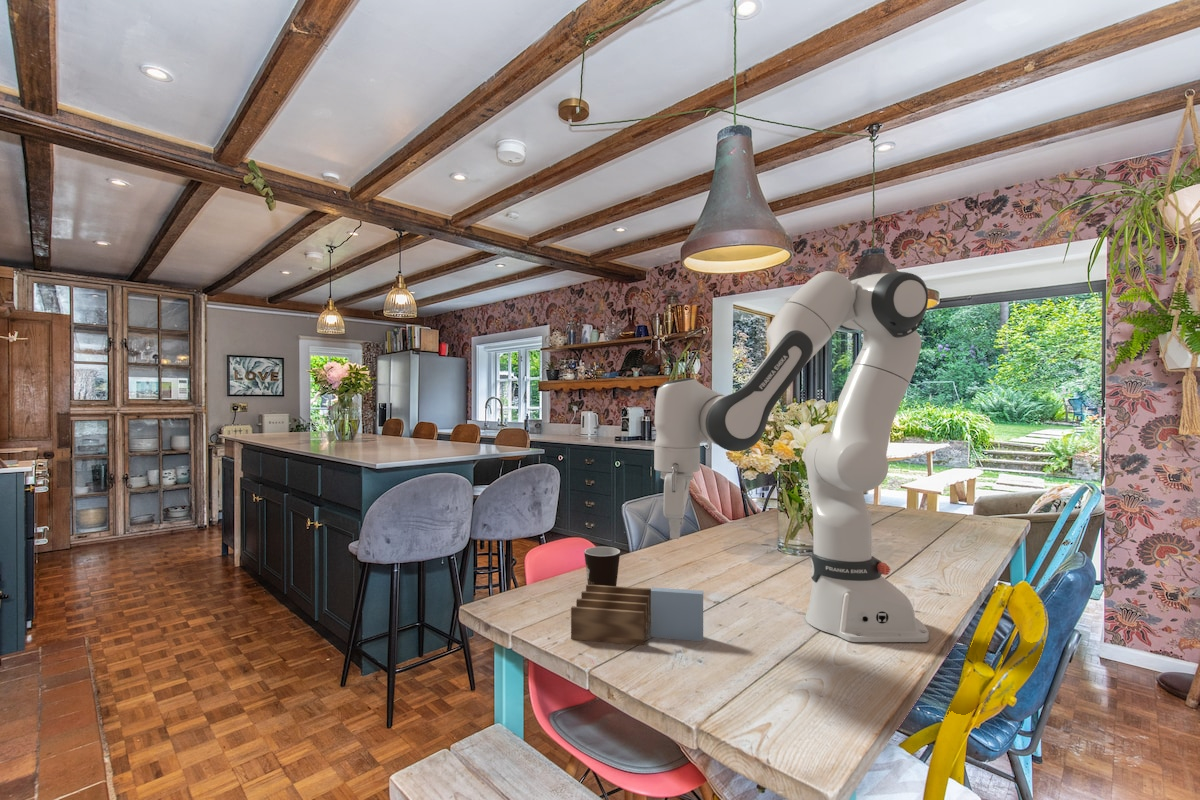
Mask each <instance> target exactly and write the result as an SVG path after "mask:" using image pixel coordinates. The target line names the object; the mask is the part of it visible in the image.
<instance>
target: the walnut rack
mask: <svg viewBox="0 0 1200 800" xmlns="http://www.w3.org/2000/svg"><path fill="white" fill-rule="evenodd" d="M651 589H652V588H649V587H647V588H645V587H631V586H630V587H629V586H618V585H616V586H604V585H588V583H587V584H586V585H585V591H584V590H582V591H581V593H580V594H581V598H576V601H575V602H576V606H571V607H570V639H571V640H577V639H578V640H580V641H589V640H590V641H591V642H603V643H604V642H605V643H613V644H614V643H616V644H625V645H626V644H627V645H638V646H644V645H645V642H646V641H645V640H646V637H647V633H648V630H649V626H650V624H651Z"/></svg>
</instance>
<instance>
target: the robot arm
mask: <svg viewBox="0 0 1200 800" xmlns="http://www.w3.org/2000/svg"><path fill="white" fill-rule="evenodd" d="M928 293H929V292H928V287H927V284H926V283H925V281H924V280H923V279H922V278H921V277H920V276H918V275H916V274H914V273H911V272H907V271H906V272H905V271H892V272H889V273H887V272H885V273H872V274H868V275H865V276H862V277H859V278H856V279H849V278H848V277H847V276H845V275H843V274H842V273H840V272H836V271H833V270H826V271H821V272H819V273H817V274H815V275H814V276H812V278H810V279H809V280H808V281H807V282H805V283H804V284H803V285H802V286H801V287H800V288H799V289H797V291H795V292H794V293H793V294H792V295H791V296H790V297H789V299H788V300H787V301H786V302H785V303H784V304H783V305H782V306H781V308H780V309H779V310H778V311H777V313H776V314H775V316H774V317H773V318H772V320H771V321H770V323H769V325H768V327H767V329H766V333H765V335H766V342H767V345H768V347H769V350H768V354H767V355H766V356H765V358H764V359H763V361H762V362H761V363H760V364H759V366H758V367H757V369H756V370H755V371H754V372H753V373H752V375H751V376H750V377H749V378H748V379H747V381H746V382H745V384H744V385H743V386H742V387H741V388H740V389H738V390H736V391H735V392H732V393H730V394H728V395H724V394H723V393H720V392H717V391H715V390H713V389H711V388H709V387H707V386H705V385H704V384H702V383H701V382H699V381H698V380H697V379H696V378H693V377H685V378H680V379H673V380H669V381H668V380H667V381H666V382H663V383H661V385H659V387H658V389H657V390H656V391H657V392H656V396H655V403H654V427H655V431H656V432H655V433H656V435H655V440H654V444H653V445H654V449H653V452H654V453H653V454H654V456H653V457H654V458H653V461H654V462H653V463H654V464H653V466H654V467H653V468H654V470H655V471H657V472H660V479H661V480H663V482H664V483H663V507H662V508H663V516H664V517H665V518H667V519H668V525H669V538H670V539H672V540H679V539H680V537H681V528H682V527H683V518H684V517H685V512H686V507H687V502H688V499H689V493H690V485H691V481H693V479H694V473H696V472H699V471H700V468H701V454H700V453H701V442H704V441H708V442H709V443H712V444H714V445H717V446H719V447H720V448H721V449H724V450H727V451H729V452H743V451H746V450H748V449H751V448H752V447H754V446H755V445H756V444H757V443H758V442H759V441H760V439H761V438H762V437H763V435H764V433H765V430H766V428H767V424H768V419H769V417H770V414H771V412H772V410H773V409H774V408H775V405H776V404H777V403H778V401H779V400H780V399H781V397H782V396H783V395H784V394H785V392H786V391H787V389H789V387H790V386H791V384H792V383H793V381H794V380H795V379H796V378H797V376H799V374H800V372H801V371H802V370H803V368H804V367H805V366H806V365H807V363H809V361H810V360H812V358H813V357H814V356H815V355H816V354H817V353H818V352H819V351H820V350H821V349H822V348H823V347H824V346H825V345H826V344H827V342H828V341H830V339H831V338H832V336H833V335H834V334H835V333H836V332H837V330H838V329H839V328H840V329H844V330H846V331H847V330H848V331H862V333H863V334H862V337H863V338H862V339H863V341H862V347H861V349H860V351H859V352H858V355H857V357H856V359H855V361H854V363H853V364H852V367H851V370H850V372H849V374H848V376H847V379H846V380H845V383H844V385H843V387H842V390H841V391H840V394H839V397H838V400H837V404H838V406H837V407H838V408H837V413H836V416H835V417H836V418H835V421H834V425H833V426H834V427H833V429H832V432H825V433H821V434H819V435H817V436H815V437H813V438H812V439H810V440H809V441H808V443H807V444H806V446H805V448H804V450H803V462H804V465H805V468H806V475H807V485H808V491H809V496H810V501H811V508H812V509H811V510H812V521H813V522H812V525H813V526H812V527H813V529H812V531H813V534H812V536H813V537H812V538H813V540H812V541H813V545H812V546H813V549H812V551H811V555H810V577H811V580H812V581H811V591H810V596H809V600H808V601H809V602H808V605H807V610H806V614H805V616H804V617H805V618H804V619H805V621H806V622H807V624H809V625H811V626H812V627H814V628H815V629H817V630H820V631H822V632H826V633H829V634H832V635H835V636H837V637H840V638H841V639H843V640H845V641H847V642H852V643H926V642H927V643H928V641H929V639H930V634H929V633H930V632H929V630H928V627H927V626H926V625H925V624H924V623H923V622H922V621H920V620H919V619H918V618H917V617H916V614H915V610H914V606H913V604H912V602H911V600H910V599H909V598H908V597H907V595H906V594H904V593H903V592H902V591H901V590H900V589H899V588H897V587H896V586H895V585H894V584H893V583H891V582H890V581H889V580H888V579H886V578H885V577H884V576H888V575H889V573H890V574H891V567H890V566H889V565H888V564H887V563H885V562H883V561H881V560H880V559H878V558H877V557H875V556H874V555H873V554H872V551H873V550H872V543H873V542H872V540H873V539H872V537H873V536H872V516H871V514H870V512H869V510H868V507H867V503H866V499H865V495H864V492H869V491H872V490H874V489H876V488H878V487H879V486H881V485H882V484H883V482H884V481H885V479H886V478H887V476H888V473H889V461H888V457H887V454H888V453H887V452H888V447H889V442H890V441H889V440H890V436H891V431H892V427H893V423H894V420H895V417H896V415H897V412H898V410H899V408H900V405H901V403H902V401H903V399H904V396H905V394H906V392H907V390H908V387H909V385H910V383H911V380H912V378H913V376H914V373H915V370H916V367H917V364H918V361H919V358H920V357H919V356H920V353H921V347H922V338H921V335H920V334H919V332H918V329H919V328H920V326H921V325H922V323H923V322H924V321H923V320H924V316H925V314H926V311H927V309H928V303H929V294H928ZM883 575H884V576H883Z"/></svg>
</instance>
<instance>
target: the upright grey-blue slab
mask: <svg viewBox="0 0 1200 800" xmlns="http://www.w3.org/2000/svg"><path fill="white" fill-rule="evenodd" d="M650 589H651V619H650V637H651V638H658V639H659V638H660V639H670V640H671V639H673V640H681V641H682V640H683V641H684V640H685V641H695V642H696V641H697V642H703V641H704V590H699V589H697V590H696V589H695V590H694V589H683V588H667V587H651V588H650Z"/></svg>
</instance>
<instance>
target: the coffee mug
mask: <svg viewBox="0 0 1200 800" xmlns="http://www.w3.org/2000/svg"><path fill="white" fill-rule="evenodd" d="M583 551H584V562H585V568H586V570H585V571H586V579H587V584H588V585H604V586H617V583H618V573H619V565H620V556H621V550H620V549H618V548H616V547H612V546H593V547H588V548H586V549H585V550H583Z"/></svg>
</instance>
